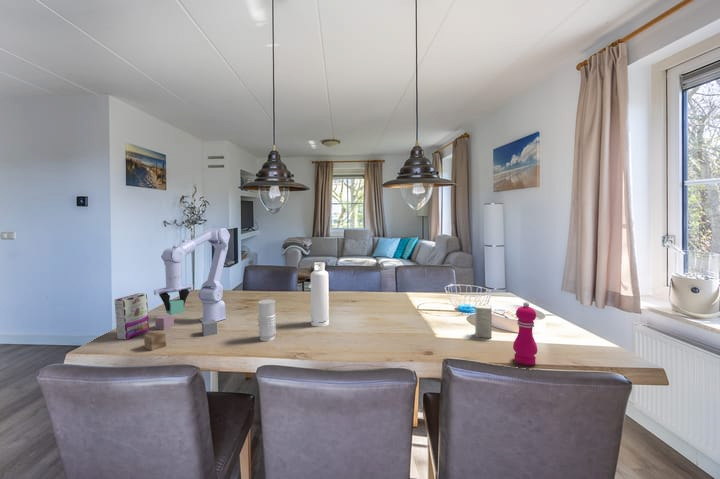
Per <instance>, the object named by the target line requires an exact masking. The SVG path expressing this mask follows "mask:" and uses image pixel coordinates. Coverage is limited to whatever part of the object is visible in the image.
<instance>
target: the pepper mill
mask: <svg viewBox="0 0 720 479" xmlns="http://www.w3.org/2000/svg"><path fill="white" fill-rule="evenodd" d="M515 316H516V318H517V322H516V323H517V326H518V334H517V336H516V338H515V339H514V341H513V343H512V344H513V346H512V349H513V351H514V352H515V353H514V358H513V359H514V361H515V362H517V363H519V364H520V365H525V366H531V365H535V364H536V356H535V355H537V353H538V346H537V342H536V340H535V338H534V336H533V335H534V334H533V328H534V327H535V320H536V318H537V312H536V310H535V309H534V308H532V307H530V303H529V302H528V301H524V302H523V304H522V306H518V308H517V309H516V311H515Z"/></svg>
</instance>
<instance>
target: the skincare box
mask: <svg viewBox="0 0 720 479" xmlns="http://www.w3.org/2000/svg"><path fill="white" fill-rule="evenodd" d="M474 305H475V306H474V307H475V309H474V311H475V314H474V318H475V320H474V321H475V328H474V329H475V337H477V338H485V339H486V338H487V339H492V338H493V337H492V332H493V331H492V325H493V324H492V320H493V319H492V318H493V316H492V313H493V312H492V305H483V304H481V305H480V304H474Z"/></svg>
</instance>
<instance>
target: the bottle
mask: <svg viewBox="0 0 720 479" xmlns="http://www.w3.org/2000/svg"><path fill="white" fill-rule="evenodd" d="M313 263H314V264H313V271H312V272H311V273H310V320H311V321H310V324H311V326H313V327H326V326H328V325H329V324H330V320H329V319H330V305H329V304H330V300H329V299H330V298H329V292H330V291H329V288H330V287H329V285H330V284H329V283H330V282H329V272H328V271H327V270H325V268H326V266H325V264H326V263H325V262H320V261H319V262H318V261H317V262H313Z"/></svg>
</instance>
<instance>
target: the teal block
mask: <svg viewBox="0 0 720 479" xmlns="http://www.w3.org/2000/svg"><path fill="white" fill-rule="evenodd" d="M169 305H170V311H166V310H165V313H166V314H167V315H172V316H174V315H177V314H182V313H185V305H184V301H183V300H181V299H180V298H175V299H170V300H169Z"/></svg>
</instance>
